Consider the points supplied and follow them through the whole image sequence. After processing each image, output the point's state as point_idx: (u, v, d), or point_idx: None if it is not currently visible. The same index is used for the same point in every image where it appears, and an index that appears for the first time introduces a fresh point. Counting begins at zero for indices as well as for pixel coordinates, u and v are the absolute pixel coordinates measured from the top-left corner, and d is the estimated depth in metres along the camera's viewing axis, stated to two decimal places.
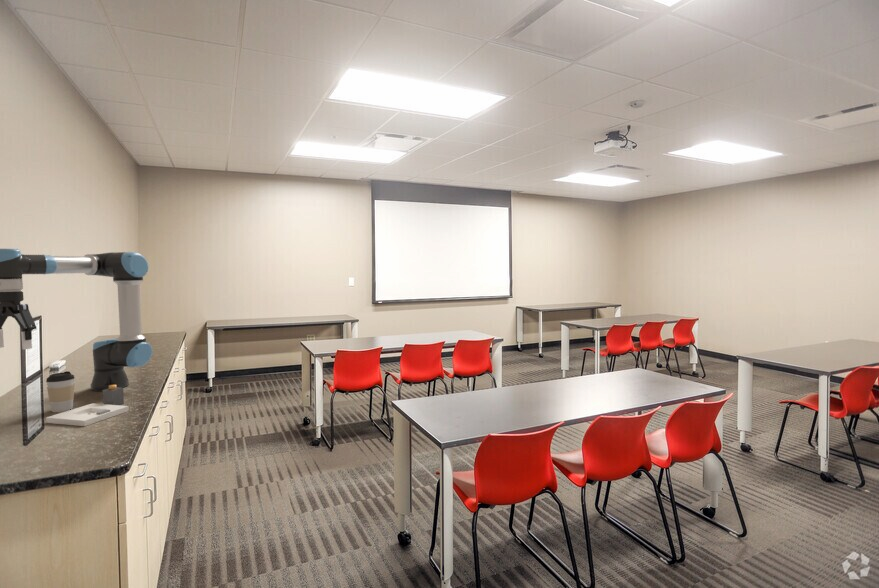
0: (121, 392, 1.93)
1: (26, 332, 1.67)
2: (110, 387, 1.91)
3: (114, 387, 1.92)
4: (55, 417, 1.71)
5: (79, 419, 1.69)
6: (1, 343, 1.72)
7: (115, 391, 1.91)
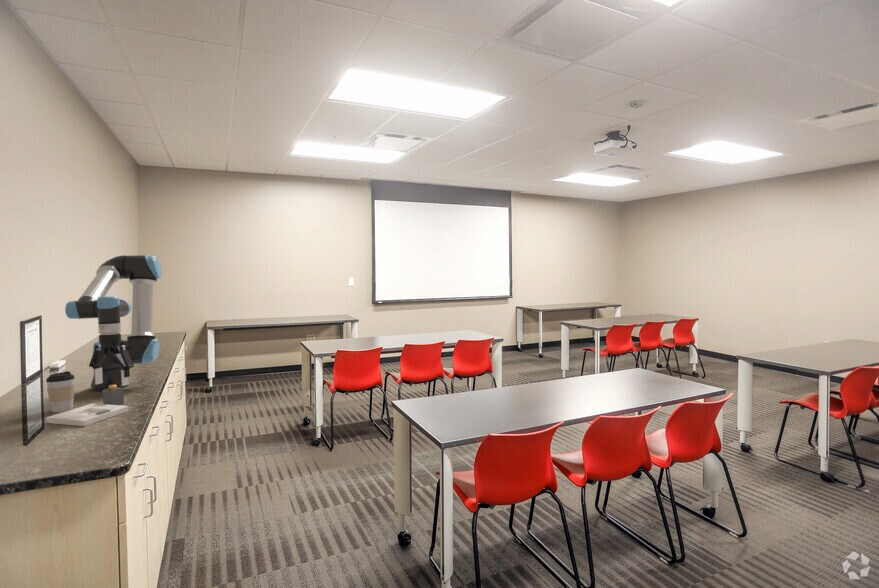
0: (121, 392, 1.93)
1: (125, 370, 1.89)
2: (110, 387, 1.91)
3: (114, 387, 1.92)
4: (55, 417, 1.71)
5: (79, 419, 1.69)
6: (101, 379, 1.94)
7: (115, 391, 1.91)
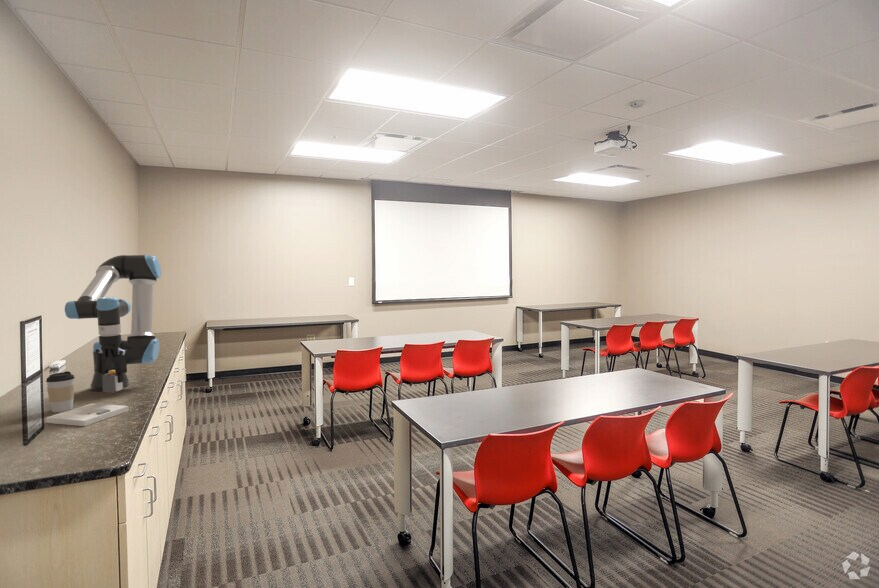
0: None
1: (118, 376, 1.91)
2: (110, 372, 1.91)
3: (114, 372, 1.92)
4: (55, 417, 1.71)
5: (79, 419, 1.69)
6: None
7: (114, 376, 1.91)
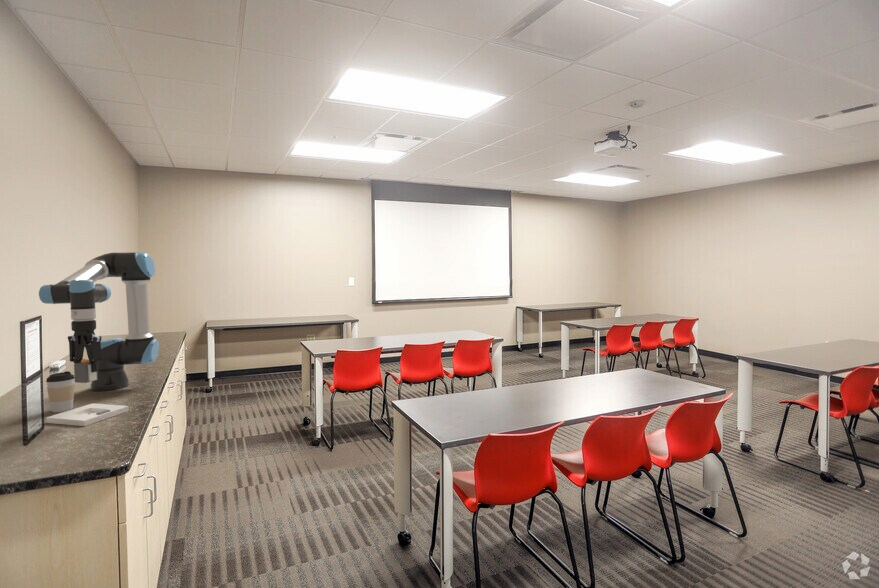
0: None
1: (92, 365, 1.75)
2: (82, 361, 1.75)
3: (87, 361, 1.76)
4: (55, 417, 1.71)
5: (79, 419, 1.69)
6: None
7: (87, 365, 1.75)
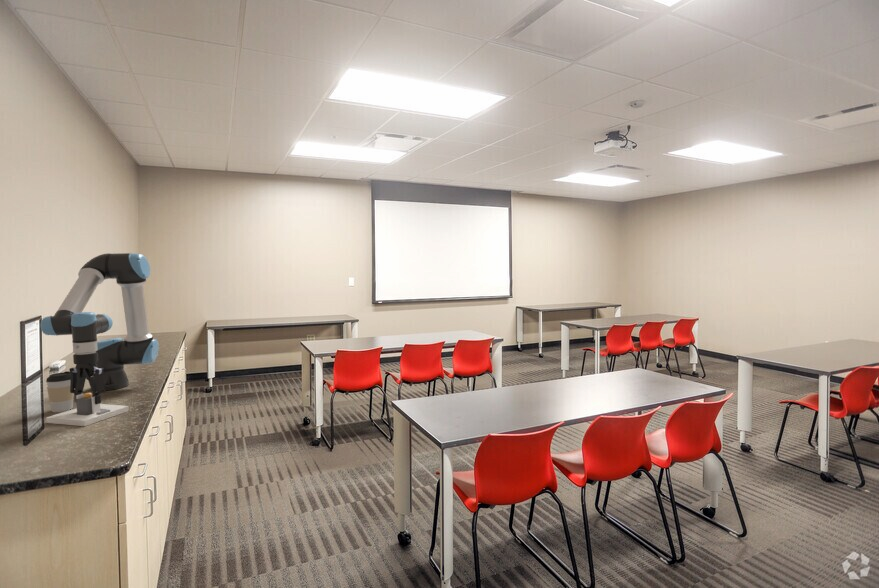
0: None
1: (96, 397, 1.76)
2: (85, 395, 1.76)
3: (89, 395, 1.77)
4: (55, 417, 1.71)
5: (79, 419, 1.69)
6: None
7: (89, 400, 1.76)
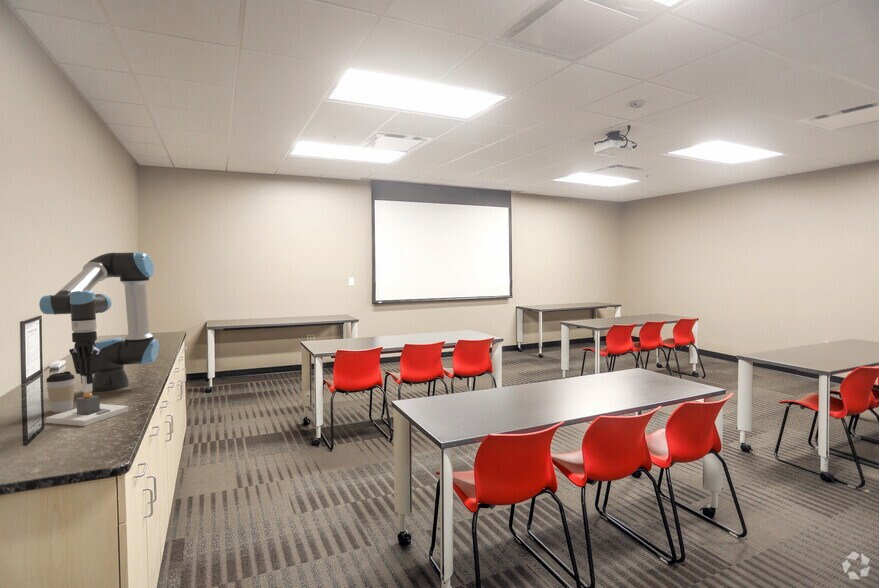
0: (97, 401, 1.79)
1: (88, 376, 1.76)
2: (85, 395, 1.76)
3: (89, 395, 1.77)
4: (55, 417, 1.71)
5: (79, 419, 1.69)
6: None
7: (89, 400, 1.76)
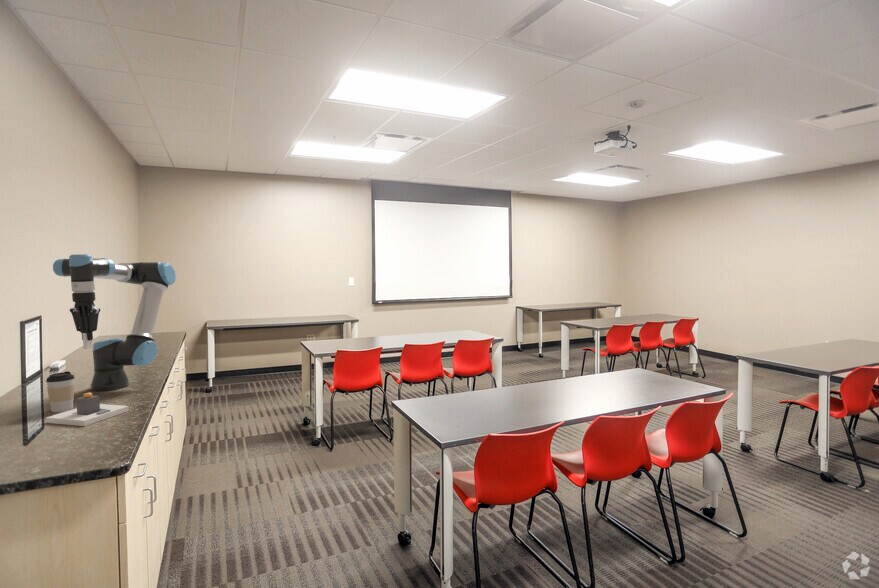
0: (97, 401, 1.79)
1: (88, 333, 1.91)
2: (85, 395, 1.76)
3: (89, 395, 1.77)
4: (55, 417, 1.71)
5: (79, 419, 1.69)
6: None
7: (89, 400, 1.76)
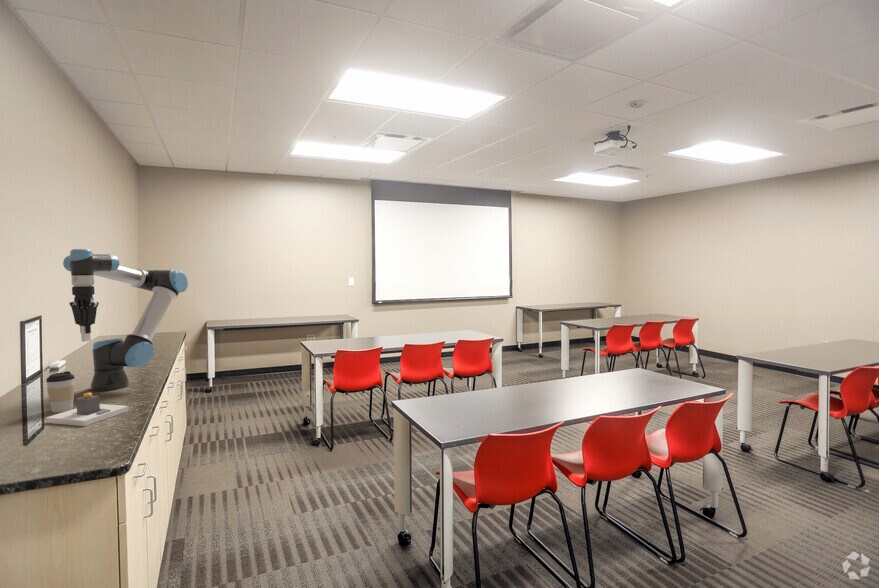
0: (97, 401, 1.79)
1: (86, 326, 1.95)
2: (85, 395, 1.76)
3: (89, 395, 1.77)
4: (55, 417, 1.71)
5: (79, 419, 1.69)
6: None
7: (89, 400, 1.76)
